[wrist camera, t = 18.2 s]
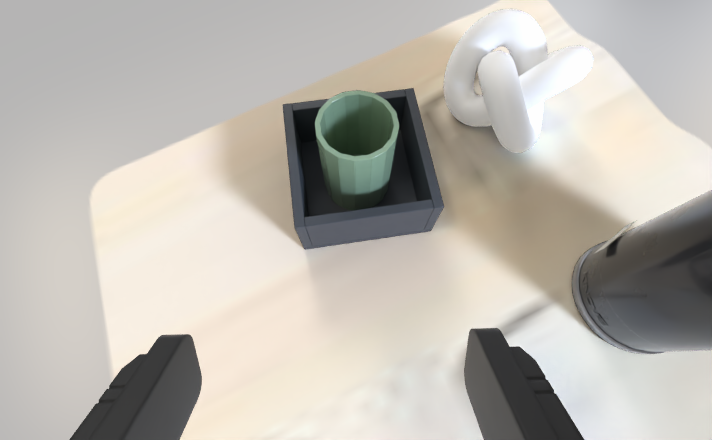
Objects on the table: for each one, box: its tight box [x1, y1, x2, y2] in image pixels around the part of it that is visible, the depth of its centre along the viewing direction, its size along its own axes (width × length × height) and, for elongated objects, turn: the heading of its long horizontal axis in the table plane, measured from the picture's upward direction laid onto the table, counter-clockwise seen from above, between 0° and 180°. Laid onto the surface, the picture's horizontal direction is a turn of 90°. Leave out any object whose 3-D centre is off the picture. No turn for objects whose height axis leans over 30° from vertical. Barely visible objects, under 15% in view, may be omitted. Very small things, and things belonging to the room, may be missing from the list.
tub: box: [283, 88, 444, 249], centre depth 33 cm, size 12×12×6 cm
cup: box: [315, 90, 399, 210], centre depth 31 cm, size 6×6×9 cm
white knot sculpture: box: [443, 9, 593, 153], centre depth 34 cm, size 11×12×9 cm
